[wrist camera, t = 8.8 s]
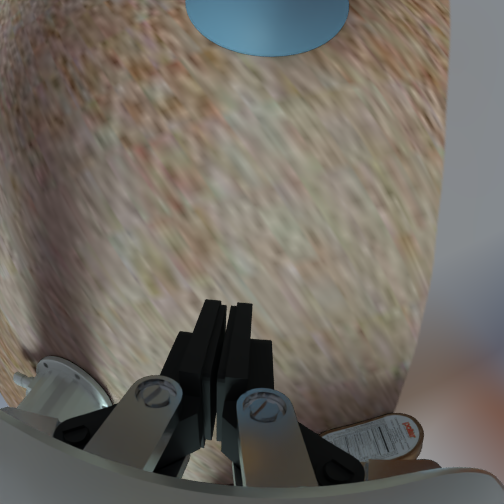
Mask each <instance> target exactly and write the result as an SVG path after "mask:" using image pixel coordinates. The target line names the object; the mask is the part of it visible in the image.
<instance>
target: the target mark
mask: <svg viewBox="0 0 504 504" xmlns="http://www.w3.org/2000/svg"><path fill="white" fill-rule="evenodd" d="M186 9H187V13H188V16H189V18H190V20H191V22H192V23H193V25H194V26H195V27H196V29H197V30H198V31H199V32H200V33H201V34H202V35H204V36H205V37H206V38H208V39H209V40H210V41H212V42H214V43H216V44H217V45H219V46H222V47H224V48H226V49H229V50H232V51H235V52H238V53H243V54H248V55H254V56H266V57H277V56H288V55H295V54H299V53H303V52H307V51H310V50H312V49H315V48H317V47H319V46H321V45H323V44H325V43H326V42H328V41H329V40H330V39H332V38H333V37H334V36H335V35H336V34H337V33H338V32H339V31H340V29H341V28H342V27H343V25H344V23H345V21H346V19H347V16H348V12H349V1H348V0H186Z"/></svg>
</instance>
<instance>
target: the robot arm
mask: <svg viewBox="0 0 504 504" xmlns="http://www.w3.org/2000/svg"><path fill="white" fill-rule="evenodd" d="M226 311H227V305H221V301H218V300H208V299H206V300H205V302H204V305H203V307H202V310H201V313H200V315H199V318H198V320H197V323H196V326H195V328H194V331H193V333H190V332H183V331H180V332H179V334H178V335H177V338H176V340H175V342H174V344H173V347H172V349H171V351H170V353H169V355H168V358H167V360H166V362H165V364H164V367H163V369H162V371H161V374H160V375H151V376H147V377H143V378H141V379H139V380H137V381H136V382H135V383H134V384H133V385H132V386H131V387H130V389H129V390H128V391H127V392H126V394H125V395H124V396H123V398H122V399H121V400H120V402H119V403H117V404H114V405H112V403H111V401H110V399H109V397H108V396H107V394H106V393H105V391H104V390H103V389H102V388H101V386H100V385H99V384H98V383H97V382H96V381H95V380H94V379H93V378H92V377H91V376H90V375H89V374H87V373H86V372H85V371H84V370H82V369H81V368H79V367H78V366H77V365H75V364H73V363H71V362H70V361H68V360H65V359H63V358H60V357H56V356H47V357H44V358H43V359H42V360H41V361H40V362H39V363H38V364H37V368H36V374H37V375H36V376H35V377H27V376H26V375H24V374H22V373H20V372H16V373H15V374H14V382H15V383H16V384H18V385H20V386H22V387H25V388H27V390H26V395H27V396H26V397H25V398H24V399H23V401H22V402H21V403H20V404H19V406H18V407H17V408H13V407H5V408H1V409H0V504H504V485H503V484H502V483H501V481H500V480H499V479H498V478H497V477H496V476H495V475H493V474H492V473H490V472H488V471H486V470H482V469H478V468H466V467H464V468H463V467H452V468H442V467H441V466H440V465H439V464H438V463H436V462H434V461H432V460H428V459H413V460H380V459H368V461H367V462H360V461H359V460H358V459H356V458H355V457H354V456H352V455H350V454H349V453H347V452H345V451H344V450H342V449H340V448H339V447H337V446H335V445H334V444H332V443H330V442H329V441H327V440H326V439H324V438H322V437H321V436H319V435H318V434H316V433H314V432H313V431H311V430H310V429H308V428H307V427H305V426H304V425H302V424H301V423H299V422H298V421H297V418H296V415H295V412H294V409H293V406H292V403H291V402H290V400H289V398H287V397H286V396H285V395H284V394H283V393H281V392H279V391H277V390H274V376H273V355H272V341H271V340H259V339H250V337H251V321H252V304H250V303H239V302H237V306H231V309H230V314H229V319H228V324H227V328H226ZM216 412H217V441H222V443H221V451H222V452H223V453H224V454H225V455H226V456H227V457H228V458H229V459H230V460H231V461H232V470H233V480H234V486H230V485H220V484H212V483H205V482H198V481H192V480H186V479H181V478H182V476H183V473H184V471H185V469H186V467H187V464H188V462H189V459H190V454H191V453H193V452H195V451H196V450H198V449H200V447H201V448H204V445H205V440H206V439H207V440H212V436H213V430H214V424H215V418H216Z"/></svg>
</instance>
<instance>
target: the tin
mask: <svg viewBox="0 0 504 504" xmlns="http://www.w3.org/2000/svg"><path fill="white" fill-rule="evenodd" d="M319 436H321V437H322V438H324V439H326V440H327V441H329V442H330V443H332V444H334V445H335V446H337V447H339V448H340V449H342V450H344V451H345V452H347V453H349V454H350V455H352V456H354V457H355V458H356V459H358V460H359V461H360V462H367V461H368V459H380V460H413V459H416V458H417V457H418V456H419V454H420V452H421V449H422V443H423V438H424V431H423V428H422V426H421V424H420V423H419V422H418V421H417V420H416V419H415V418H414V417H412V416H410V415H407V414H402V413H390V414H386V415H383V416H379V417H376V418H373V419H370V420H366V421H363V422H359V423H355V424H352V425H348V426H344V427H340V428H336V429H332V430H328V431H326V432H324V433H322V434H320V435H319Z"/></svg>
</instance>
